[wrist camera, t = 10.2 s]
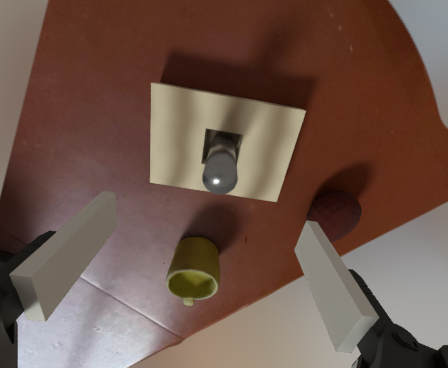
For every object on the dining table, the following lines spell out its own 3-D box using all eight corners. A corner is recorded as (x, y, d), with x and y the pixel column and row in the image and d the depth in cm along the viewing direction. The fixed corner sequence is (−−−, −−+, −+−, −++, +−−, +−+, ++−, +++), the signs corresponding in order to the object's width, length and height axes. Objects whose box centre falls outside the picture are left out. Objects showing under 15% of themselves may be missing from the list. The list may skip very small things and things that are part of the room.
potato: (358, 196, 37) (382, 216, 31) (319, 235, 41) (333, 259, 35) (327, 176, 35) (345, 194, 30) (289, 219, 39) (299, 241, 34)
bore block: (157, 173, 35) (150, 182, 32) (159, 82, 29) (151, 82, 26) (272, 191, 37) (276, 202, 33) (298, 107, 30) (306, 110, 27)
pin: (209, 155, 33) (200, 191, 22) (212, 132, 31) (203, 159, 20) (232, 158, 33) (234, 196, 22) (236, 135, 31) (240, 164, 20)
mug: (173, 226, 38) (175, 282, 31) (224, 231, 42) (235, 281, 35) (157, 260, 45) (156, 312, 38) (202, 261, 49) (208, 308, 42)
